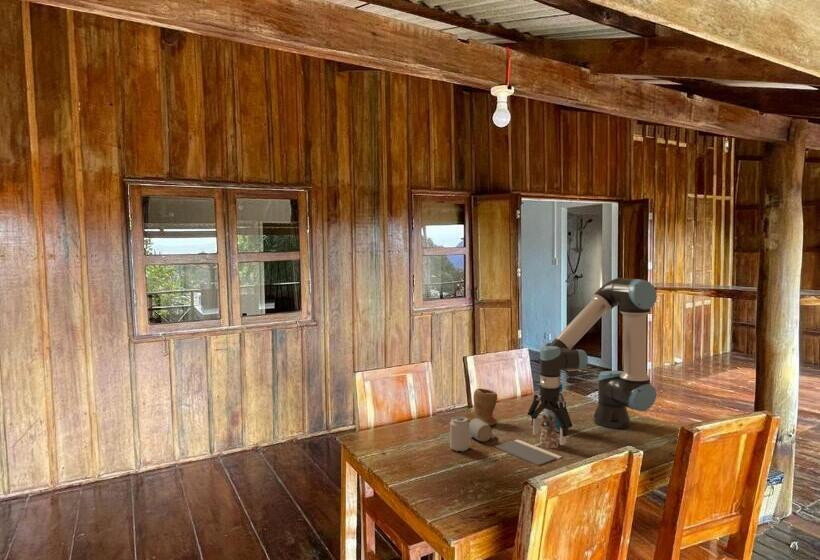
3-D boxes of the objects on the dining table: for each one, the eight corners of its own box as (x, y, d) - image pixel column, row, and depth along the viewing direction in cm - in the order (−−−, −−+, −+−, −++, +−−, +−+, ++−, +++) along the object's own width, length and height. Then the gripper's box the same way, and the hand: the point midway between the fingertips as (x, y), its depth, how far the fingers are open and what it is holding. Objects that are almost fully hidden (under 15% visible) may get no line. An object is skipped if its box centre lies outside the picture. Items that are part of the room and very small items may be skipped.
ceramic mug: (478, 444, 213) (478, 425, 212) (466, 437, 220) (467, 419, 220) (499, 440, 218) (500, 421, 217) (487, 433, 225) (488, 415, 225)
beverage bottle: (542, 431, 227) (542, 384, 226) (544, 424, 235) (545, 380, 234) (562, 433, 224) (563, 386, 223) (564, 427, 232) (565, 381, 231)
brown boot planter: (502, 422, 239) (502, 389, 238) (488, 429, 230) (488, 395, 229) (474, 415, 248) (474, 383, 247) (459, 422, 239) (459, 389, 238)
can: (471, 446, 210) (471, 416, 210) (466, 453, 203) (466, 422, 203) (452, 444, 213) (452, 414, 212) (447, 451, 206) (447, 420, 205)
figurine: (555, 449, 207) (555, 419, 206) (537, 446, 210) (537, 416, 210) (560, 443, 213) (561, 414, 212) (543, 440, 216) (543, 411, 216)
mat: (512, 441, 215) (512, 440, 215) (556, 459, 197) (556, 458, 197) (494, 447, 209) (494, 446, 209) (538, 465, 192) (538, 464, 192)
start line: (517, 440, 217) (517, 439, 217) (561, 457, 199) (561, 456, 199) (514, 441, 216) (514, 440, 216) (558, 458, 198) (558, 457, 198)
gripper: (519, 380, 218) (518, 432, 219) (569, 394, 198) (568, 450, 199) (532, 378, 222) (531, 428, 224) (582, 391, 202) (581, 446, 203)
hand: (549, 439), depth 211 cm, fingers open, 13 cm apart
